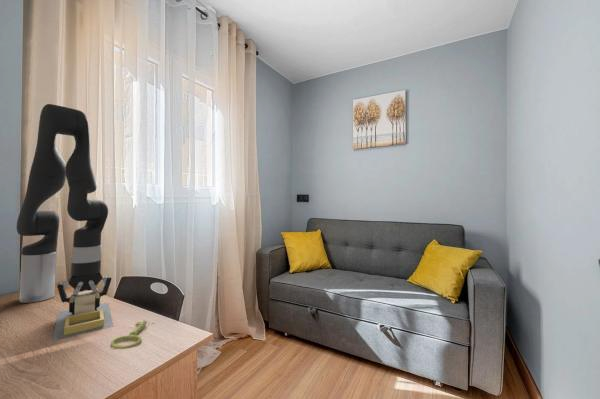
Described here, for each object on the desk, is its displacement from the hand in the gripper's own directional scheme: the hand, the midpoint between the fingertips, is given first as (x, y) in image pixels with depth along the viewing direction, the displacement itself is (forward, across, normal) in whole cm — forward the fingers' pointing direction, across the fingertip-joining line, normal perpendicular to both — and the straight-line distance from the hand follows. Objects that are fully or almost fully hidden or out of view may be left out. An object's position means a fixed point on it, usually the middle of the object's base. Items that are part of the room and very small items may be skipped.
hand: (84, 310), depth 83 cm
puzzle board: (+1, 0, +6) cm, 6 cm away
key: (+2, -10, +25) cm, 27 cm away
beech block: (0, 0, 0) cm, 0 cm away
